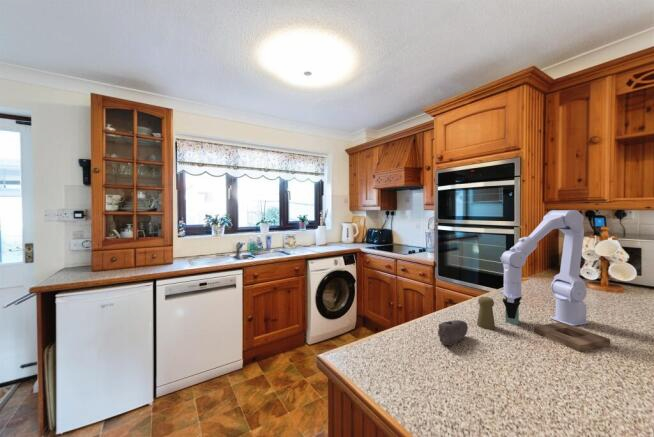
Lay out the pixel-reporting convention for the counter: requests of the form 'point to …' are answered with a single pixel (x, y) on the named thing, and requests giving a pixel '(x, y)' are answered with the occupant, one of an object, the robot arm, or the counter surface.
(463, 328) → the perforated stone tool
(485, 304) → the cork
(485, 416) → the counter surface
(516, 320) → the teal peg
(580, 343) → the walnut socket block
